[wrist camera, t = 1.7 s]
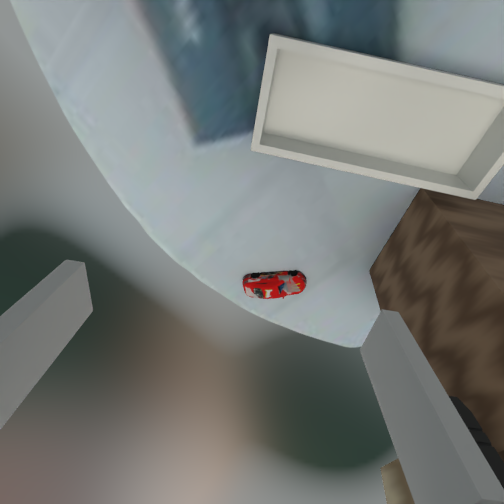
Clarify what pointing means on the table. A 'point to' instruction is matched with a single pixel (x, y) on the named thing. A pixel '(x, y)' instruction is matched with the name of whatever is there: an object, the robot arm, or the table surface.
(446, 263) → the wooden block
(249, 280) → the race car
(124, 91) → the table surface
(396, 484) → the wooden board
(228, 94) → the table surface
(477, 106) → the tray
